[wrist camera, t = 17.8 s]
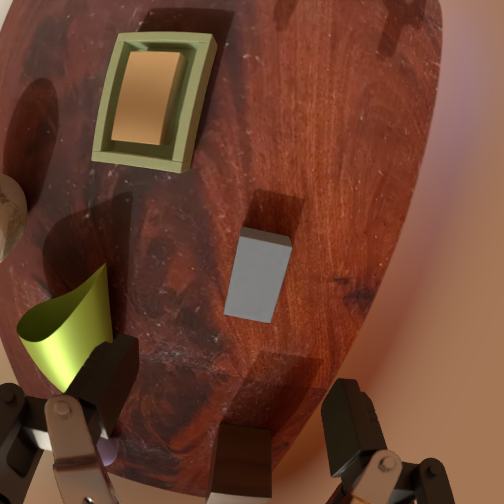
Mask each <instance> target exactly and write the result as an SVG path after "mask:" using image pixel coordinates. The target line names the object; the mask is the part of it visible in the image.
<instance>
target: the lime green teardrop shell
mask: <svg viewBox="0 0 504 504" xmlns="http://www.w3.org/2000/svg"><path fill="white" fill-rule="evenodd" d="M17 333H18V335H19V337H20V339H21V341H22V342H23V344H24V346H25V348H26V349H27V351H28V353H29V354H30V356H31V357H32V359H33V360H34V362H35V363H36V365H37V366H38V367H39V369H40V370H41V371H42V372H43V374H44V375H45V376H46V377H47V378H48V379H49V380H50V381H51V382H52V383H53V384H54V385H55V386H56V387H57V388H58V389H59V390H61V391H62V392H63V393H64V392H65V391H66V390H67V388H68V387H69V385H70V383H71V382H72V380H73V379H74V377H75V376H76V374H77V373H78V371H79V370H80V368H81V367H82V365H84V363H85V361H86V360H87V358H89V355H90V354H91V352H92V351H93V350H94V348H95V347H96V346H98V345H100V344H101V343H103V342H104V341H107V342H109V343H112V342H113V333H112V323H111V314H110V303H109V293H108V281H107V267H106V263H105V264H104V265H103V266H101V267H100V268H99V269H98V270H97V271H96V272H95V273H94V274H93V275H92V276H91V277H90V278H89V279H87V280H86V281H85V282H84V283H83V284H81V285H80V286H79V287H77V288H76V289H74V290H73V291H71V292H69V293H67V294H65V295H62V296H60V297H57V298H54V299H51V300H48V301H45V302H42V303H40V304H38V305H36V306H34V307H33V308H31V309H30V310H28V311H27V312H26V313H25V314H24V315H23V317H22V318H21V319H20V321H19V323H18V325H17Z"/></svg>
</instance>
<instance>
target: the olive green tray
mask: <svg viewBox="0 0 504 504" xmlns="http://www.w3.org/2000/svg"><path fill="white" fill-rule="evenodd" d="M217 47H218V45H217V43H216V41H215V39H214V37H213V34H207V33H193V32H130V33H119V35H118V38H117V42H116V44H115V47H114V50H113V54H112V57H111V61H110V64H109V68H108V72H107V76H106V80H105V84H104V88H103V93H102V97H101V102H100V107H99V113H98V118H97V124H96V130H95V136H94V143H93V152H92V161H100V162H108V163H116V164H124V165H131V166H138V167H145V168H152V169H158V170H164V171H171V172H177V173H182V172H184V171H187V170H190V166H191V160H192V155H193V150H194V144H195V139H196V134H197V130H198V125H199V120H200V116H201V111H202V107H203V102H204V98H205V94H206V89H207V85H208V81H209V77H210V73H211V69H212V66H213V62H214V58H215V54H216V51H217ZM132 51H162V52H180V53H181V54H182V55H183V56H184V57H185V58H186V59H187V60H188V65H187V69H186V73H185V77H184V80H183V85H182V89H181V93H180V97H179V101H178V106H177V111H176V115H175V120H174V125H173V130H172V135H171V140H170V144H169V145H154V144H146V143H138V142H128V141H119V140H111V138H112V131H113V125H114V120H115V115H116V109H117V104H118V100H119V95H120V91H121V86H122V82H123V78H124V74H125V70H126V66H127V63H128V59H129V56H130V52H132Z"/></svg>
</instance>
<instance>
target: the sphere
mask: <svg viewBox="0 0 504 504" xmlns="http://www.w3.org/2000/svg"><path fill="white" fill-rule="evenodd" d="M97 448H98V451H99V453H100V456H101V459H102V461H103V464H104V466H107V465H109V464H111V463H112V462H113V461H114V460H115V458H116V456H117V447H116V444H115V442H114V440H113V439H112V438H111V437H110V438H109V440H108V439H105V438H103V437H100V438H99V440H98V443H97Z"/></svg>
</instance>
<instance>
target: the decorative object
mask: <svg viewBox="0 0 504 504" xmlns="http://www.w3.org/2000/svg"><path fill="white" fill-rule="evenodd" d="M26 224H27V203H26V198H25V194H24V192H23V190H22V188H21V187H20V186H19V184H18V183H17V182H16V181H15V180H14V179H12V178H11V177H9V176H7V175H4V174H0V262H2V261H3V260H4V259H5V258H6V257H7V256H8V254H9V253H10V252H11V251H12V249H13V248H14V247H15V246H16V244H17V243H18V242H19V240H20V239H21V237H22V235H23V233H24V230H25V228H26Z"/></svg>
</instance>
